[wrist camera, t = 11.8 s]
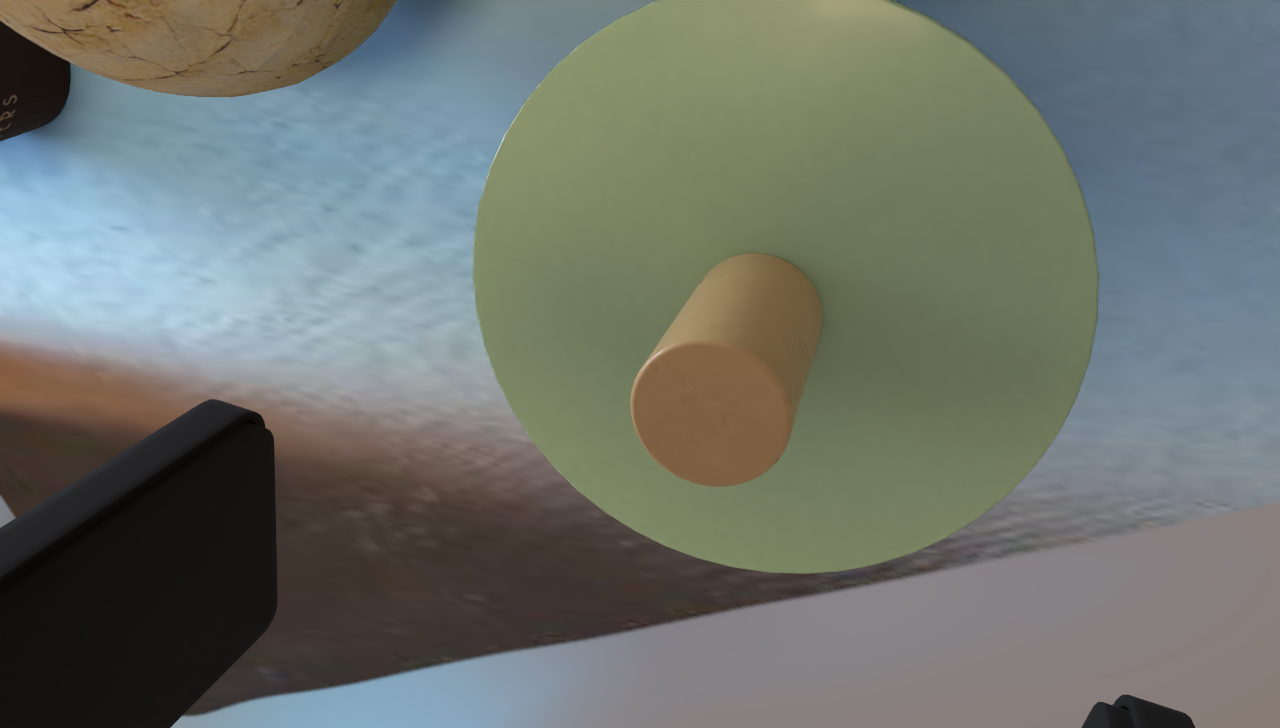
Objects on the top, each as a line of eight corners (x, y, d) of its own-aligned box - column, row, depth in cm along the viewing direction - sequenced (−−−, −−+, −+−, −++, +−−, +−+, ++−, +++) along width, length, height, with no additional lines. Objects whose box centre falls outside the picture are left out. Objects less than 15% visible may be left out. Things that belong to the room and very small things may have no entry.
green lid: (1205, 53, 17) (1331, 104, 12) (970, 616, 23) (981, 820, 18) (522, -79, 19) (364, -89, 14) (469, 461, 25) (345, 599, 20)
